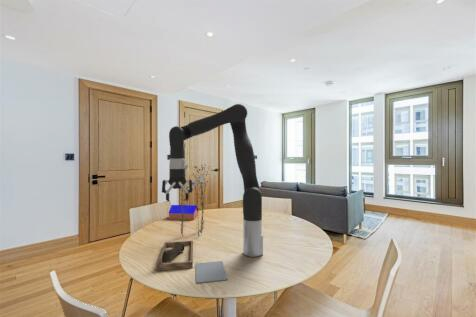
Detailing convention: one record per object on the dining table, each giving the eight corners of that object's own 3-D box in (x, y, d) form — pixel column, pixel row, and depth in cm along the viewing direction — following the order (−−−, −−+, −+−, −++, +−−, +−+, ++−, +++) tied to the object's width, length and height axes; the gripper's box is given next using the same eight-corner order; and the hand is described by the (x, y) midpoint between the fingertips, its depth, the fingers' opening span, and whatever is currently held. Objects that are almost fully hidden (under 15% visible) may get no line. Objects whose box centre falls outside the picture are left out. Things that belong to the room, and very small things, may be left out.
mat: (222, 261, 104) (222, 260, 104) (227, 280, 88) (227, 279, 88) (196, 264, 102) (196, 263, 102) (196, 283, 86) (196, 282, 86)
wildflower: (213, 230, 150) (213, 162, 149) (206, 243, 127) (206, 163, 127) (180, 229, 151) (180, 162, 151) (167, 242, 128) (167, 163, 128)
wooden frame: (193, 245, 124) (193, 240, 124) (192, 267, 99) (192, 261, 99) (164, 247, 121) (164, 242, 121) (156, 270, 96) (156, 264, 96)
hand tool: (177, 250, 116) (177, 241, 116) (184, 251, 115) (184, 242, 115) (156, 263, 97) (156, 252, 98) (164, 264, 96) (165, 253, 97)
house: (194, 222, 168) (194, 207, 168) (168, 221, 170) (168, 206, 170) (198, 218, 180) (198, 203, 180) (174, 217, 182) (174, 203, 182)
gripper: (192, 167, 115) (192, 199, 115) (163, 167, 112) (163, 200, 112) (192, 168, 108) (192, 202, 108) (161, 168, 105) (161, 203, 105)
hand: (177, 201), depth 110 cm, fingers open, 8 cm apart
